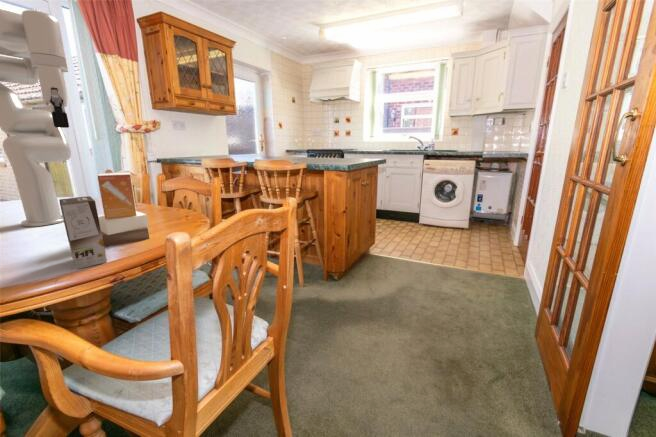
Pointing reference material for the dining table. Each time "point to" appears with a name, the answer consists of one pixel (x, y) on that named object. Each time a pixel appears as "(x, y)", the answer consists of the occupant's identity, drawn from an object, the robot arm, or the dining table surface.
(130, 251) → the dining table surface
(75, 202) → the coffee box
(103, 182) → the small box
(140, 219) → the top block
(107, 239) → the base block
